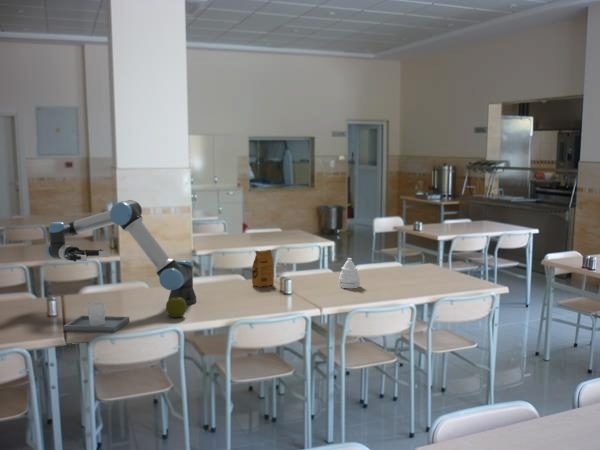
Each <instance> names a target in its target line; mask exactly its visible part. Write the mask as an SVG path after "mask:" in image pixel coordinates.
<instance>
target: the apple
mask: <svg viewBox="0 0 600 450" xmlns="http://www.w3.org/2000/svg"><path fill="white" fill-rule="evenodd" d="M165 307H166V313H167V314H168V316H169V317H171V318H181V317H183V316H184V315H185V313H186V311H187V307H188V306H187V304H186V302H185V300H184V299H183V298H181V297H173V298H170V299H169V300H167V302H166V305H165Z"/></svg>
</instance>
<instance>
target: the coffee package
mask: <svg viewBox="0 0 600 450" xmlns="http://www.w3.org/2000/svg"><path fill="white" fill-rule="evenodd" d="M254 253H255V256H254V260H253V263H252V269H251V270H252V271H251V272H252V273H251V275H252V278H251V283H252V286H253V285H255V286H254V287H256V286H258V287H257V288H259V287H260V288H263V286H264V287H265V286H268V287H271V286H270V285H272V286H274V285H275V284H274V282H275V281H274V280H275V279H274V276H275V275H274V274H275V270H274V258H273V255H272V250H271V249H266V250H262V251H261V250H255V252H254Z"/></svg>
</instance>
